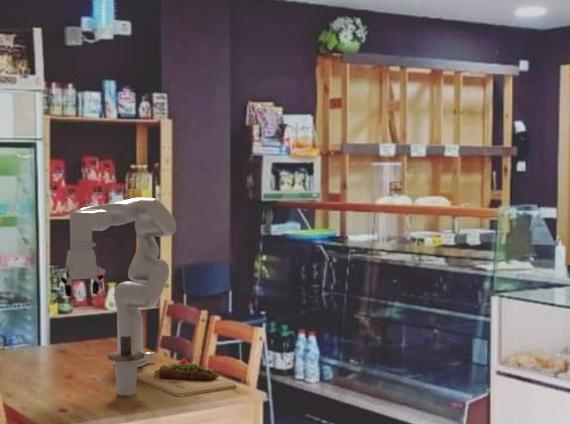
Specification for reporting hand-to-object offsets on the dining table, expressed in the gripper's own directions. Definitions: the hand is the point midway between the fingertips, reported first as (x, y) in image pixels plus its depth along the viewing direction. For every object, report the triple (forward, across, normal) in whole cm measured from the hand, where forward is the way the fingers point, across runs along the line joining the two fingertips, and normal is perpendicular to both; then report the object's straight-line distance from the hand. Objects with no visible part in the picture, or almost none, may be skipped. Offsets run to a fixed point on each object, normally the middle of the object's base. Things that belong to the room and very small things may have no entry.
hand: (82, 294), depth 323 cm
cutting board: (+31, -29, +21) cm, 48 cm away
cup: (+31, -6, +25) cm, 40 cm away
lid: (+18, -6, +25) cm, 32 cm away
